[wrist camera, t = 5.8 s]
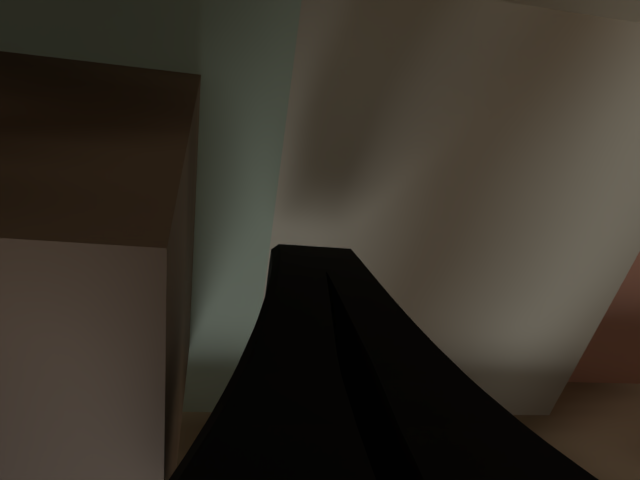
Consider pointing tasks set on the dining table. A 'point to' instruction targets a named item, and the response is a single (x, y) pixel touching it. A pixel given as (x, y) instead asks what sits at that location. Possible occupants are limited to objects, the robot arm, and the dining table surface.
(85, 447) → the walnut block
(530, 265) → the frame
